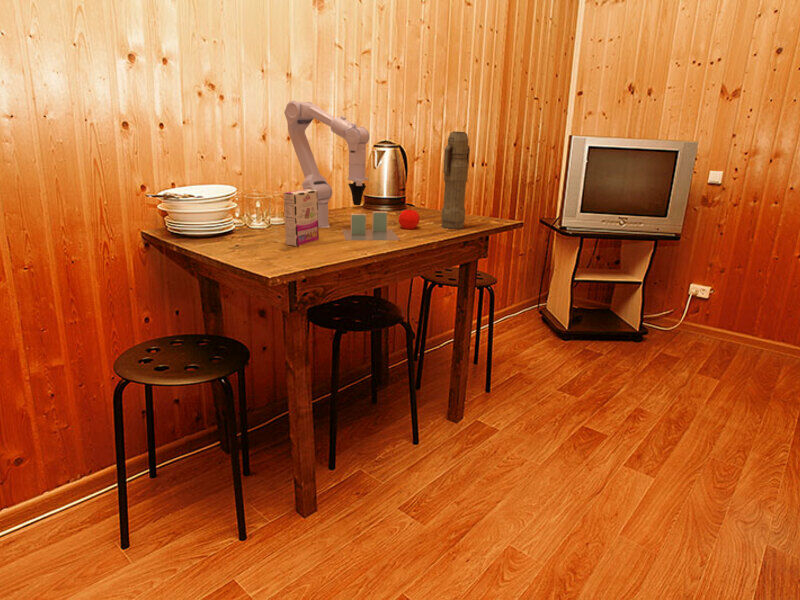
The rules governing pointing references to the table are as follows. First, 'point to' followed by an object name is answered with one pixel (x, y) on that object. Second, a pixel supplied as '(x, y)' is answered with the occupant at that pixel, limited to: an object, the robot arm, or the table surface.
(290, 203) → the candy bar box
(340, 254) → the table surface
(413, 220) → the apple
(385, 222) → the tile
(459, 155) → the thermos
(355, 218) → the tile
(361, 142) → the robot arm
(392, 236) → the slate board
